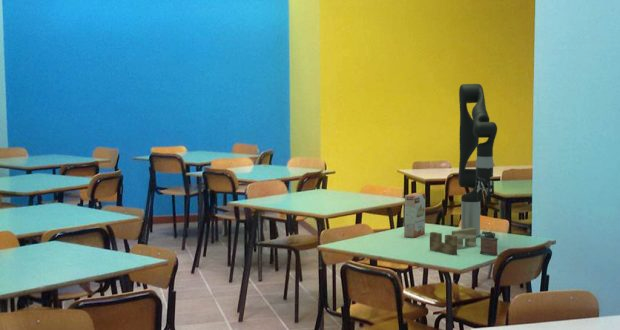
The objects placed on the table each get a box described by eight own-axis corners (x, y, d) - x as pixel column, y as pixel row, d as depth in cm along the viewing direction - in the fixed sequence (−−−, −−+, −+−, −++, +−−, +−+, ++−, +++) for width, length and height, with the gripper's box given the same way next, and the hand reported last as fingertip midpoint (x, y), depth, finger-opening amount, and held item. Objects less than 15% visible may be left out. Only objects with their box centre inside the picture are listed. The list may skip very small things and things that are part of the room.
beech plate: (451, 248, 344) (451, 231, 343) (472, 244, 352) (472, 227, 352) (455, 249, 342) (455, 231, 341) (476, 245, 350) (476, 228, 350)
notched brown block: (429, 250, 340) (429, 232, 340) (433, 249, 342) (433, 231, 341) (453, 254, 329) (453, 236, 329) (457, 254, 331) (457, 236, 330)
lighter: (499, 254, 328) (499, 232, 328) (495, 256, 326) (495, 233, 325) (482, 252, 334) (482, 230, 333) (478, 253, 331) (478, 231, 330)
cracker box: (415, 238, 370) (415, 195, 369) (403, 237, 373) (403, 195, 372) (425, 234, 382) (425, 192, 381) (414, 233, 385) (414, 192, 384)
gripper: (470, 165, 347) (469, 200, 349) (483, 168, 333) (483, 204, 335) (485, 164, 348) (484, 199, 350) (499, 167, 335) (499, 204, 336)
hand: (484, 202), depth 342 cm, fingers open, 8 cm apart
